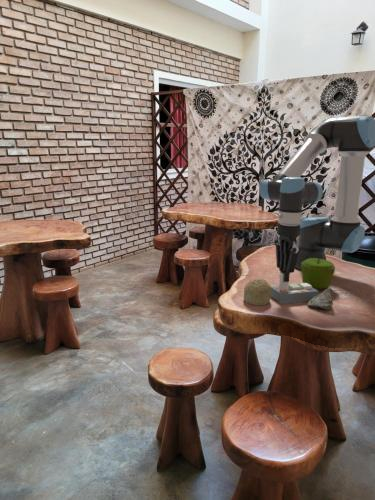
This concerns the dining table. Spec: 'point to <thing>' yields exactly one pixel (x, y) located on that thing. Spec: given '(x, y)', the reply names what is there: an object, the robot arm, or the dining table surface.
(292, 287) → the key
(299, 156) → the robot arm
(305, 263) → the apple
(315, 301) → the rock sample
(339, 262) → the dining table surface
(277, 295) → the keypad
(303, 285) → the key
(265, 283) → the decorative object
